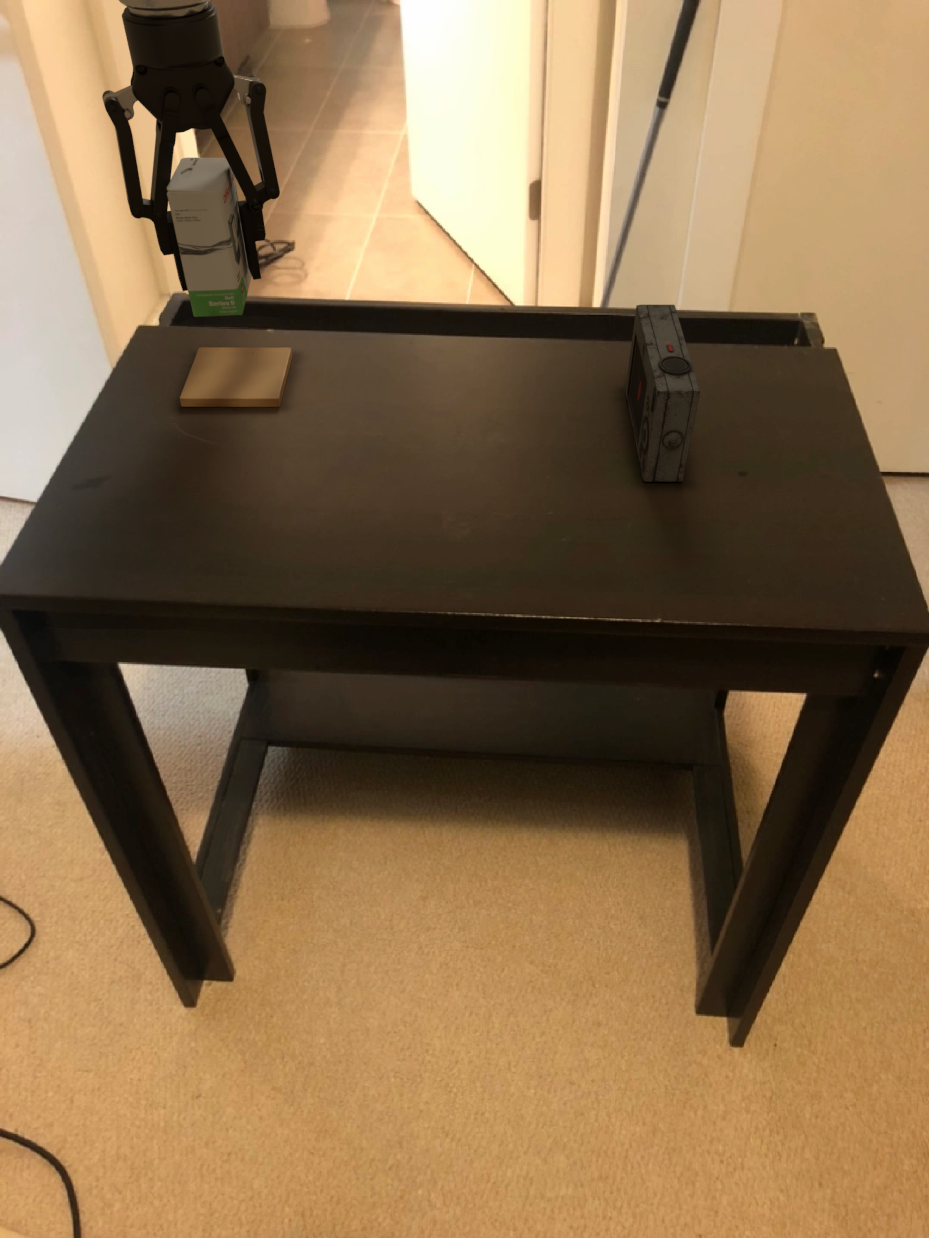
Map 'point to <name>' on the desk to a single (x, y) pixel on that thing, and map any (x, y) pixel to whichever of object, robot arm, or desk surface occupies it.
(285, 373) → the cork mat
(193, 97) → the robot arm
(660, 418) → the camera
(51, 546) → the desk surface
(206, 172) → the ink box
